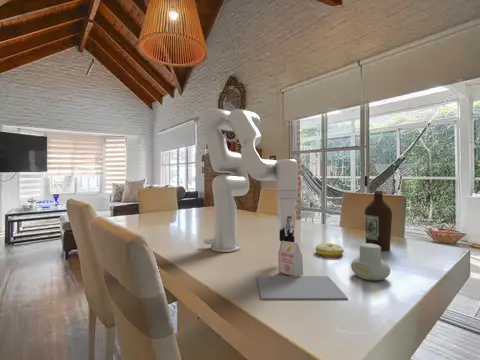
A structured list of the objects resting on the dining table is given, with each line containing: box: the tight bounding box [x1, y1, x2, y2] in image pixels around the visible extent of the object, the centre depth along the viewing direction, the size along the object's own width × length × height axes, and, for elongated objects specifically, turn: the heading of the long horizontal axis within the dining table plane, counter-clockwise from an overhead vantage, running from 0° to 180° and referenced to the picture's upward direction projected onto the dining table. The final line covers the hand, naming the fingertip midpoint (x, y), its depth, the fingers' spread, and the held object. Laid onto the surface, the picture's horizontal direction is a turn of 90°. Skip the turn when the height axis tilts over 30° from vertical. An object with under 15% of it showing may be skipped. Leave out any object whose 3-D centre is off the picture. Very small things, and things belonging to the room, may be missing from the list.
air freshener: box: [350, 242, 391, 282], centre depth 84 cm, size 11×8×10 cm
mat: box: [256, 275, 349, 301], centre depth 76 cm, size 22×15×1 cm
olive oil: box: [364, 190, 393, 252], centre depth 118 cm, size 11×11×25 cm
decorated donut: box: [315, 242, 345, 258], centre depth 109 cm, size 10×11×4 cm
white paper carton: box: [277, 241, 304, 277], centre depth 87 cm, size 4×7×10 cm, turn 38°
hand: (286, 244), depth 95 cm, fingers open, 9 cm apart
